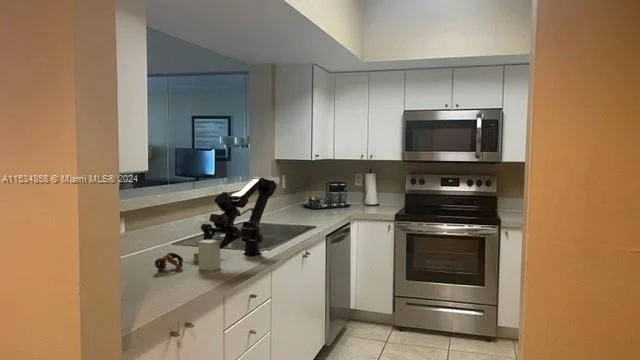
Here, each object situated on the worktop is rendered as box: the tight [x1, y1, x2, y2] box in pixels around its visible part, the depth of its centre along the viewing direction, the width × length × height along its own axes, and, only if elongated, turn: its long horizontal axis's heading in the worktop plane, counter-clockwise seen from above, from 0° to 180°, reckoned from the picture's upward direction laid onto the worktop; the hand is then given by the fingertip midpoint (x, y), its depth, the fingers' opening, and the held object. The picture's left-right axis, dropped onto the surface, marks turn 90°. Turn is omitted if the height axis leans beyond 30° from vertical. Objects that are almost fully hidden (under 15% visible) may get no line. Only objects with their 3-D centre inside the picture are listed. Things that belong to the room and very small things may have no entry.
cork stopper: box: [193, 251, 199, 263], centre depth 211 cm, size 3×3×4 cm
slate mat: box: [182, 258, 225, 267], centre depth 213 cm, size 15×11×1 cm
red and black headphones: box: [154, 252, 184, 272], centre depth 198 cm, size 12×10×8 cm
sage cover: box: [197, 239, 221, 272], centre depth 200 cm, size 6×7×12 cm
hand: (211, 247), depth 201 cm, fingers open, 9 cm apart
